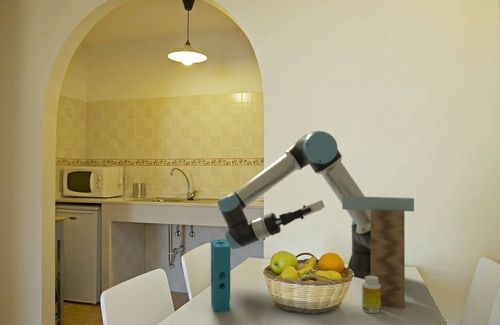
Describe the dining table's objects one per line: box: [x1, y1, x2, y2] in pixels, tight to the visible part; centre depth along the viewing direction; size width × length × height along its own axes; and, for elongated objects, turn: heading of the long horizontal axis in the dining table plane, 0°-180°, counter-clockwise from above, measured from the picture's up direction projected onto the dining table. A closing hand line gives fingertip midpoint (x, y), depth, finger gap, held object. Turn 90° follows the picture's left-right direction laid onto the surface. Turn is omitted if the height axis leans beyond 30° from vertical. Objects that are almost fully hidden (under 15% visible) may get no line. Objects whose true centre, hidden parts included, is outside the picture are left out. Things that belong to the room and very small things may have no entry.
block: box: [210, 238, 231, 313], centre depth 126 cm, size 12×5×20 cm, turn 11°
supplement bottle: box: [361, 276, 382, 314], centre depth 122 cm, size 6×6×10 cm
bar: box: [341, 196, 415, 212], centre depth 131 cm, size 22×4×4 cm, turn 74°
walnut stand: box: [371, 210, 406, 309], centre depth 130 cm, size 10×8×30 cm
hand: (322, 204), depth 140 cm, fingers open, 13 cm apart
